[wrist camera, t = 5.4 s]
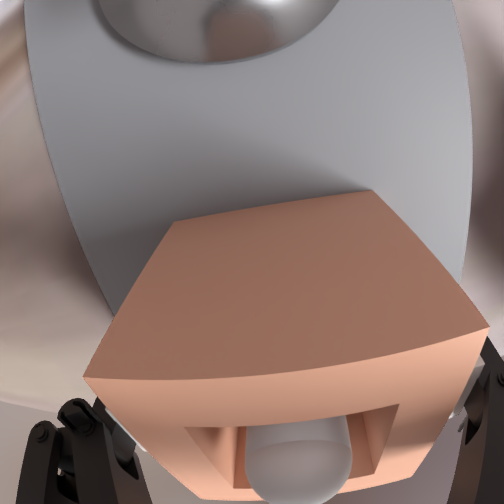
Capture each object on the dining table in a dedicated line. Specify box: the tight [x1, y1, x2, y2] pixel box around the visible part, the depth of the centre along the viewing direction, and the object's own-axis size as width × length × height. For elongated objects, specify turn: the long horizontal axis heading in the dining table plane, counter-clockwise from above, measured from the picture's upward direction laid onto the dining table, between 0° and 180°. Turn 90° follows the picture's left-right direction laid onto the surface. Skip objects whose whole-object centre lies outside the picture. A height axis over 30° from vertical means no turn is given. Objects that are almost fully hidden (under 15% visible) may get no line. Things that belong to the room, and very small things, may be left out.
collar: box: [83, 190, 490, 501], centre depth 10 cm, size 8×8×8 cm
